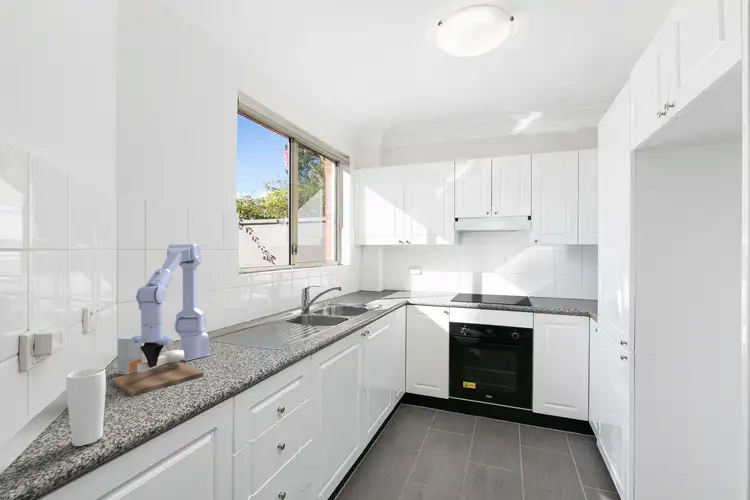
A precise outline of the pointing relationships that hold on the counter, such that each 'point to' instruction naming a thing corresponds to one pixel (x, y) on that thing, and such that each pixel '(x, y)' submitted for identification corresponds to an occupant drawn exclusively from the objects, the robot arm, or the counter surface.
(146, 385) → the board
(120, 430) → the counter surface
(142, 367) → the white long piece
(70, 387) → the white tumbler
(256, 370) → the counter surface
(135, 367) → the skincare box
